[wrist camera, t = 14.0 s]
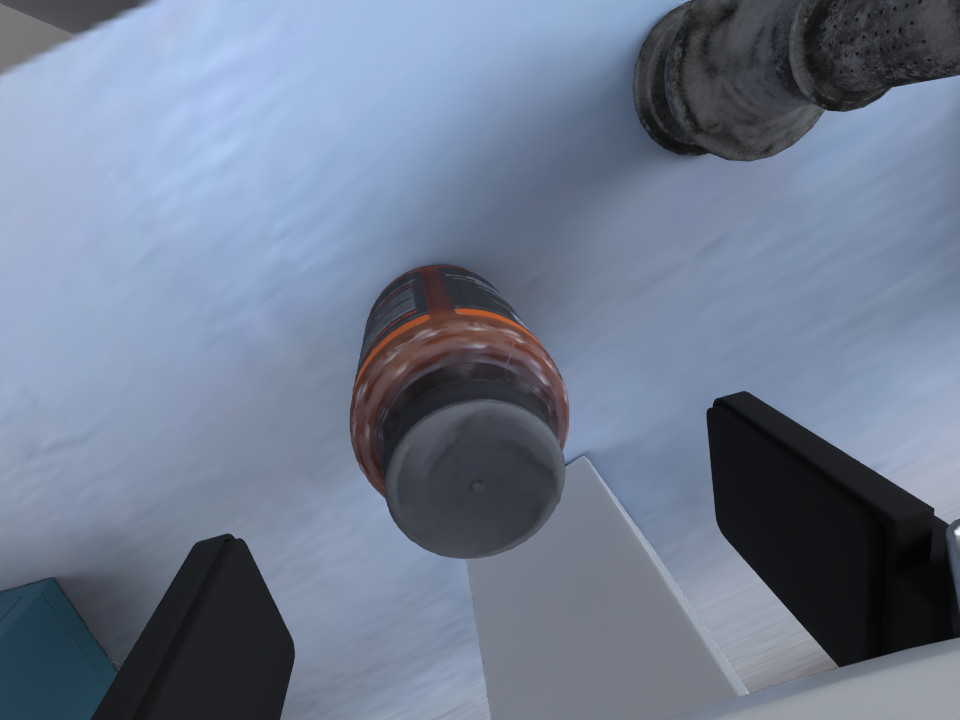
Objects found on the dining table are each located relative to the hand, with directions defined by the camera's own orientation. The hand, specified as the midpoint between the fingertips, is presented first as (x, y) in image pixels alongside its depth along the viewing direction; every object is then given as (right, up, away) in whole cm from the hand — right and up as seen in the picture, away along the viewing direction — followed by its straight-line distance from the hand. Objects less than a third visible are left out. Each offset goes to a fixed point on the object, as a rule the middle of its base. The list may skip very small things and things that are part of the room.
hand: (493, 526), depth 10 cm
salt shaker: (+8, +14, +10) cm, 19 cm away
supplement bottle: (-2, +4, +12) cm, 13 cm away
